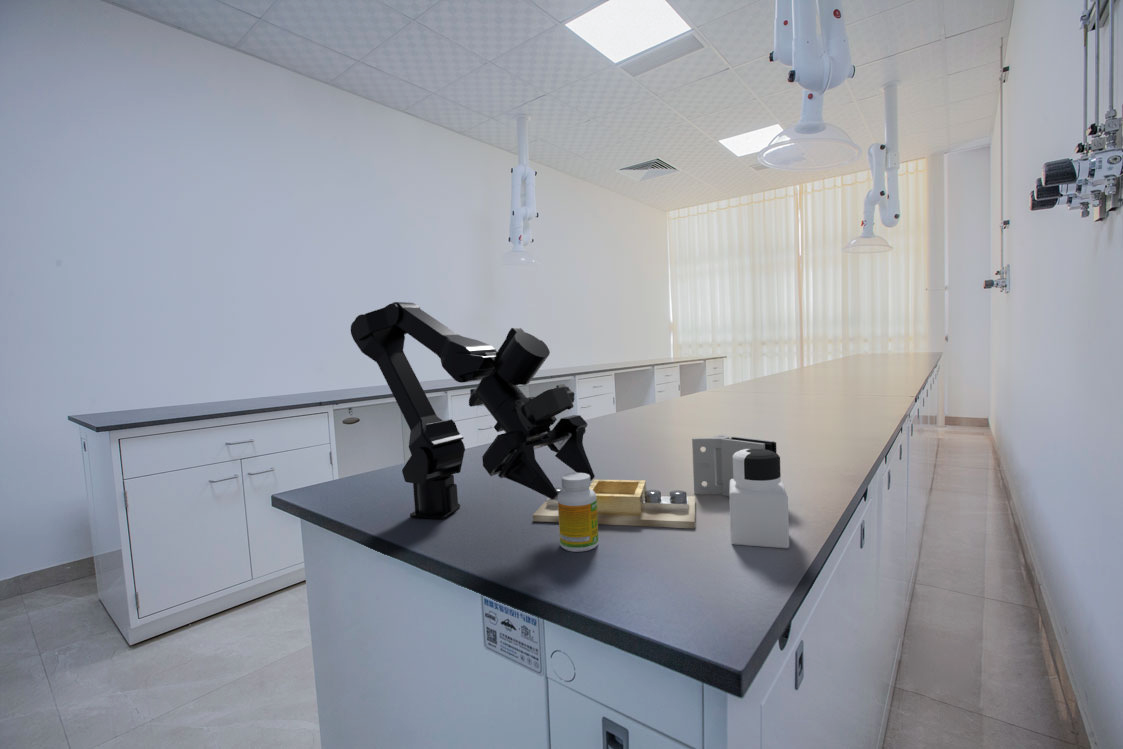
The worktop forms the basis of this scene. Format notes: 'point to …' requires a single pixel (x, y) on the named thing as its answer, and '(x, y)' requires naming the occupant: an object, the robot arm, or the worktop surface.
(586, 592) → the worktop surface
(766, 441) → the hinge
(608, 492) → the bottle holder fixture
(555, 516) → the board
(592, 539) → the supplement bottle
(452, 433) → the robot arm
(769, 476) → the medicine bottle
